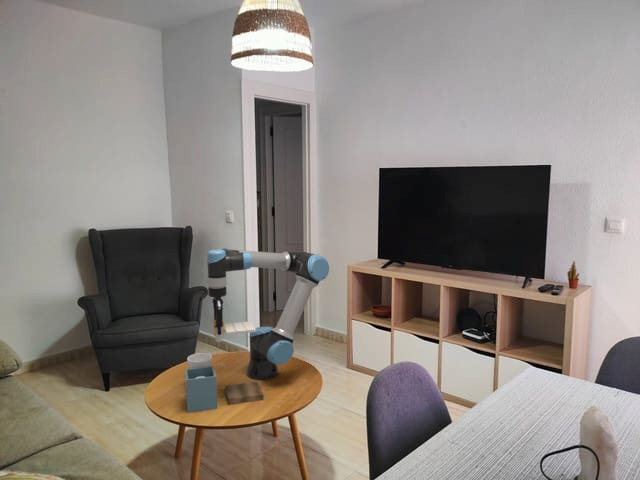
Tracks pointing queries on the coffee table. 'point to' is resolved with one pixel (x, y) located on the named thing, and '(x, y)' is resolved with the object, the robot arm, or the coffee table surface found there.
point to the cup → (199, 360)
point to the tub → (201, 389)
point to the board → (243, 393)
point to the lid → (235, 328)
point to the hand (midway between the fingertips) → (218, 339)
